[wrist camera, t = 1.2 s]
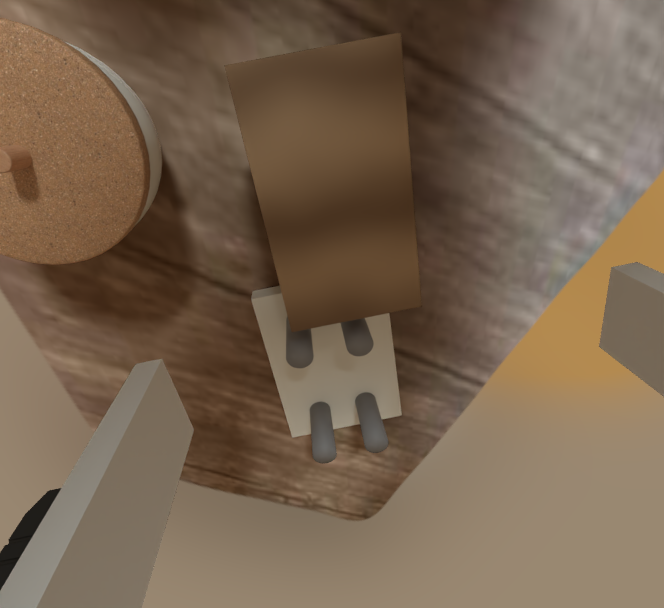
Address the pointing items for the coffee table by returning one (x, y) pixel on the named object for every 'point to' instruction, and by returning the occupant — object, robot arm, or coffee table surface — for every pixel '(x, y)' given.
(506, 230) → the coffee table surface
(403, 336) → the coffee table surface
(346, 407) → the peg stand
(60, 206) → the lidded jar
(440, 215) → the coffee table surface
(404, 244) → the board
